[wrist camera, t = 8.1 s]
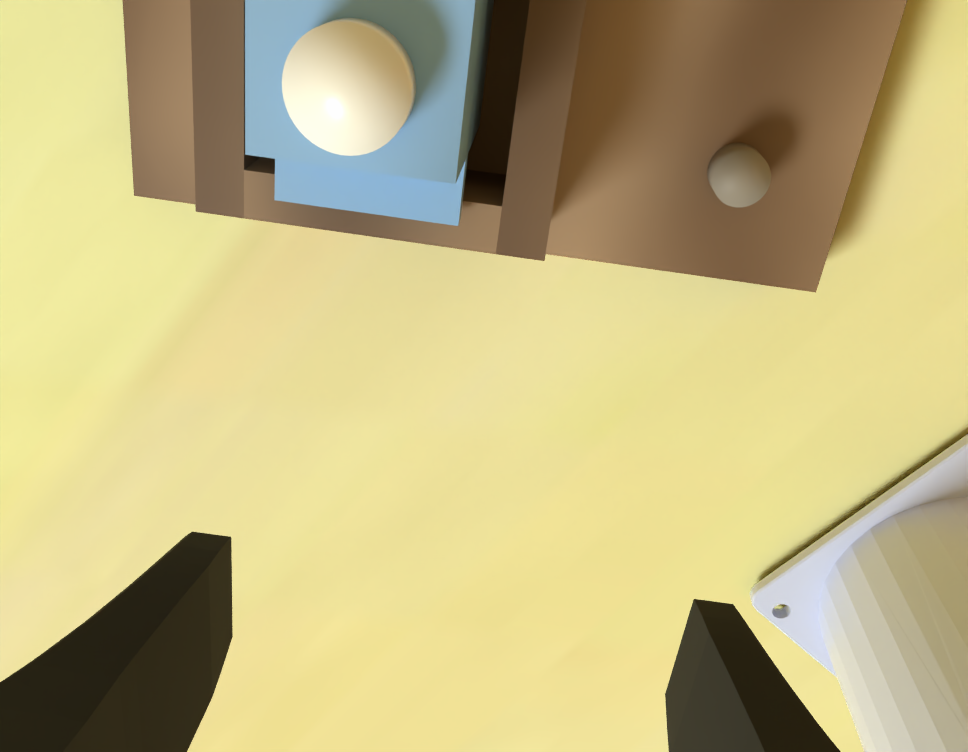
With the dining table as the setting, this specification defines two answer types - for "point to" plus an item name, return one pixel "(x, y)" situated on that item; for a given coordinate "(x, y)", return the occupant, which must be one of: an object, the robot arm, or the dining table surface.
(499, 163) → the board
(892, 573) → the robot arm
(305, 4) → the block
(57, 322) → the dining table surface
